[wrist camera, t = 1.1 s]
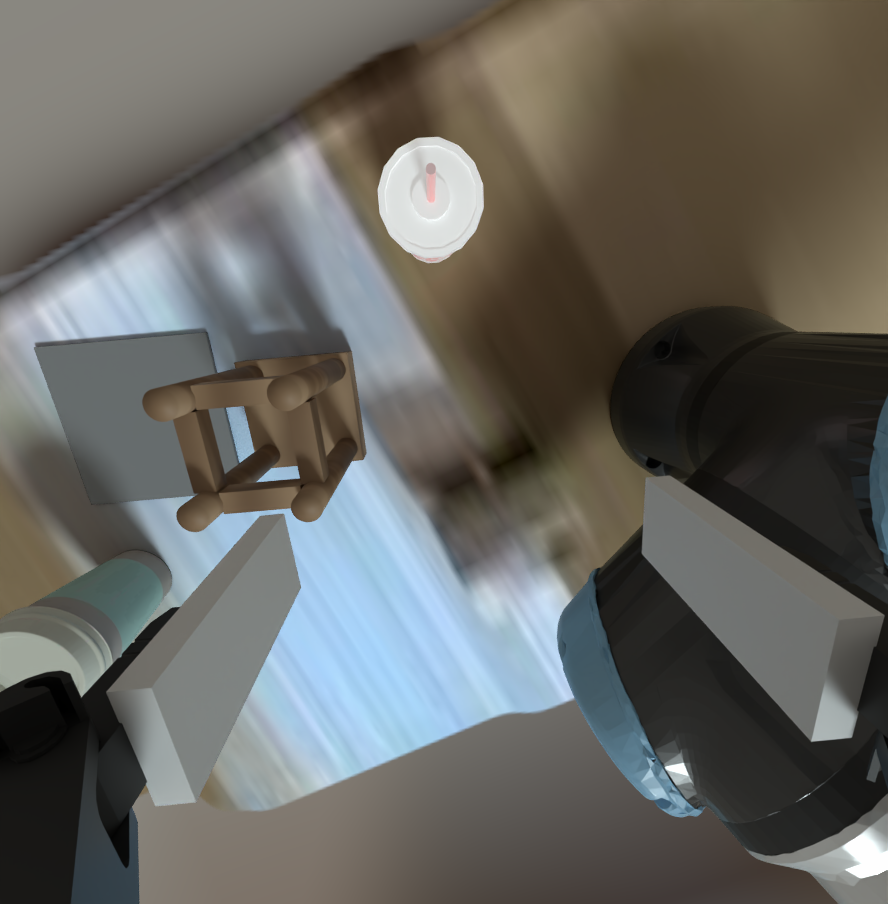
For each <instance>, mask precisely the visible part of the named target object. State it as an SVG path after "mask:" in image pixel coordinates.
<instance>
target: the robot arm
mask: <svg viewBox="0 0 888 904" xmlns="http://www.w3.org/2000/svg"><path fill="white" fill-rule="evenodd" d="M611 420H612V425H613V429H614V432H615V435H616V438H617V440H618V442H619V444H620V445H621V447H622V449H623V450H624V451H625V453H626V454H627V455H628V456H629V457H630V458H631V459H632V460H633V461H634V462H635V463H637V464H638V465H639V466H641V467H642V468H644V469H645V470H646V471H648V472H649V473H651V474H653V475H654V476H656V477H649V478H646V484H645V502H644V521H643V525H642V526H641V527H640V528H639V529H638V530H637V531H636V532H635V533H634V534H633V535H632V536H631V537H630V538H629V539H628V541H627V542H626V543H625V544H624V545H623V546H622V547H621V548H620V549H619V550H618V551H617V552H616V553H615V554H614V555H613V556H612V557H611V558H610V559H609V560H608V561H607V562H606V563H605V564H604V565H603V566H602V567H601V568H597V569H594V570H593V571H592V572H591V574H590V576H589V579H588V582H587V583H586V584H585V585H584V587H583V588H582V589H581V590H580V591H579V592H578V593H577V595H576V596H575V597H574V598H573V599H572V600H571V602H570V603H569V604H568V605H567V606H566V607H565V609H564V610H563V612H562V614H561V616H560V619H559V622H558V630H557V642H558V650H559V654H560V657H561V660H562V663H563V670H564V673H565V676H566V678H567V681H568V683H569V686H570V688H571V691H572V693H573V695H574V697H575V699H576V701H577V703H578V706H579V707H580V709H581V711H582V713H583V715H584V717H585V719H586V720H587V722H588V724H589V726H590V727H591V729H592V731H593V732H594V734H595V735H596V737H597V738H598V740H599V742H600V743H601V745H602V746H603V748H604V749H605V751H606V752H607V753H608V755H609V756H610V758H611V759H612V760H613V762H614V763H615V765H616V766H617V767H618V768H619V770H620V771H621V772H622V773H623V775H624V776H625V777H626V778H627V779H628V780H629V781H630V782H631V783H632V785H633V786H634V787H635V788H636V789H637V790H638V791H639V792H640V793H642V795H644V796H645V797H646V798H647V799H650V800H654V802H655V803H656V805H657V806H658V808H660V809H661V810H663V811H665V812H667V813H668V814H670V815H673V816H676V817H685V816H688V815H691V816H698V815H699V814H700V813H702V812H703V809H704V808H705V807H706V806H707V807H708V808H709V809H710V810H711V811H712V812H714V814H715V815H716V816H717V817H718V818H719V819H720V820H721V821H722V822H723V824H724V825H725V826H726V827H727V828H728V830H729V831H730V832H731V833H732V834H733V835H734V836H735V838H737V840H738V841H739V842H740V843H741V845H742V846H744V847H745V849H746V850H747V851H748V852H749V853H750V854H751V855H753V856H754V857H755V858H757V859H759V860H762V861H765V862H769V863H773V864H778V865H782V866H787V867H791V868H796V869H801V870H805V871H807V872H809V873H811V874H812V875H813V876H814V877H815V879H816V880H817V881H818V882H819V883H820V884H821V885H822V886H823V887H824V888H825V890H826V891H827V892H828V893H829V894H830V895H831V896H832V897H833V898H834V899H835V900H836V901H837V903H838V904H888V334H875V333H834V332H798V331H796V330H794V329H792V328H790V327H788V326H786V325H784V324H782V323H780V322H778V321H776V320H774V319H772V318H770V317H768V316H766V315H764V314H762V313H760V312H757V311H754V310H751V309H746V308H741V307H733V306H720V307H702V308H696V309H691V310H688V311H684V312H681V313H679V314H676V315H674V316H672V317H670V318H668V319H666V320H664V321H663V322H661V323H659V324H658V325H656V326H655V327H654V328H652V329H651V330H650V331H649V332H647V333H646V334H645V335H644V336H643V337H642V338H641V339H640V340H639V341H638V342H637V343H636V344H635V346H634V347H633V348H632V349H631V351H630V352H629V354H628V355H627V357H626V358H625V360H624V361H623V363H622V365H621V367H620V369H619V372H618V374H617V377H616V379H615V382H614V386H613V390H612V396H611ZM300 588H301V585H300V581H299V577H298V572H297V568H296V564H295V559H294V555H293V551H292V546H291V542H290V538H289V533H288V529H287V525H286V520H285V516H284V514H275V515H265V516H260V517H259V518H258V519H257V520H256V521H255V522H254V523H253V525H252V526H251V527H250V528H249V529H248V530H247V531H246V533H245V534H244V535H243V536H242V537H241V538H240V540H239V541H238V542H237V543H236V544H235V545H234V546H233V548H232V549H231V550H230V551H229V552H228V553H227V554H226V556H225V557H224V558H223V559H222V560H221V561H220V562H219V564H218V565H217V566H216V567H215V568H214V569H213V570H212V572H211V573H210V574H209V575H208V576H207V577H206V578H205V580H204V581H203V582H202V583H201V584H200V585H199V586H198V588H197V589H196V590H195V591H194V592H193V593H192V594H191V596H190V597H189V598H188V599H187V600H186V601H185V602H184V604H183V605H182V606H181V607H174V608H171V609H169V610H168V611H167V612H165V613H164V614H162V615H161V616H159V617H158V618H157V619H155V620H154V621H152V622H151V623H150V624H149V625H148V626H147V627H146V628H145V629H144V630H143V631H142V633H141V634H140V635H139V636H138V637H137V638H136V639H135V642H134V643H131V644H130V645H129V647H128V648H127V649H126V650H125V651H124V652H123V653H122V656H121V657H120V658H117V659H116V661H115V662H114V663H113V664H112V665H111V666H110V667H109V668H108V669H107V670H106V671H105V672H104V673H103V675H102V676H101V677H100V678H99V679H98V680H97V681H96V682H95V683H94V684H93V685H92V686H91V687H90V689H89V690H88V691H87V692H86V693H85V694H84V695H83V696H82V697H81V696H80V693H79V691H78V689H77V687H76V685H75V683H74V680H73V678H72V676H71V674H70V673H68V672H65V671H61V670H60V671H51V672H45V673H42V674H38V675H35V676H32V677H29V678H26V679H24V680H22V681H20V682H18V683H16V684H14V685H12V686H10V687H8V688H6V689H4V690H3V691H1V692H0V904H139V865H138V822H137V819H136V816H135V813H134V811H133V809H132V806H133V804H134V802H135V801H136V799H137V798H138V796H139V794H140V793H141V791H142V790H143V788H144V786H145V785H147V788H148V790H149V792H150V794H151V797H152V799H153V802H154V804H155V806H163V805H173V804H184V803H194V802H196V801H197V799H198V797H199V795H200V793H201V791H202V789H203V787H204V785H205V783H206V781H207V779H208V777H209V775H210V773H211V771H212V769H213V767H214V765H215V763H216V761H217V758H218V756H219V754H220V752H221V750H222V748H223V746H224V744H225V742H226V740H227V738H228V736H229V734H230V732H231V730H232V728H233V726H234V724H235V722H236V720H237V717H238V715H239V713H240V711H241V709H242V707H243V705H244V703H245V701H246V699H247V697H248V695H249V693H250V691H251V689H252V687H253V685H254V683H255V681H256V678H257V676H258V674H259V672H260V670H261V668H262V666H263V664H264V662H265V660H266V658H267V656H268V654H269V652H270V650H271V648H272V646H273V644H274V642H275V640H276V637H277V635H278V633H279V631H280V629H281V627H282V625H283V623H284V621H285V619H286V617H287V615H288V613H289V611H290V609H291V607H292V605H293V603H294V601H295V599H296V596H297V594H298V592H299V590H300Z"/></svg>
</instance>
